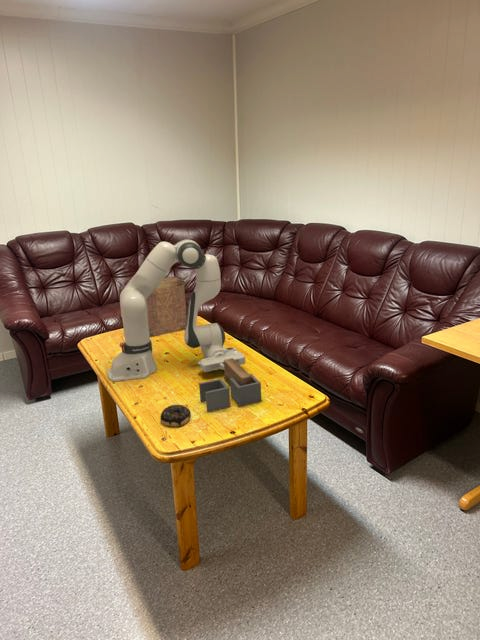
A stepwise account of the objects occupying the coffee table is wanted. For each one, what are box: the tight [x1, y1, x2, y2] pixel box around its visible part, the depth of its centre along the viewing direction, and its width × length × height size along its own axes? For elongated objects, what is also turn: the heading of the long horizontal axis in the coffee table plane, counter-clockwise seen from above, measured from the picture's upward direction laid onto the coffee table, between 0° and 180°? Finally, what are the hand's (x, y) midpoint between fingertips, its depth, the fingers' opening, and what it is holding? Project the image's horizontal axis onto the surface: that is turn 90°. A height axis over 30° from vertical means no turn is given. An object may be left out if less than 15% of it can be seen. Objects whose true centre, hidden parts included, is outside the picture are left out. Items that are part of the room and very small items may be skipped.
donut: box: [160, 404, 192, 428], centre depth 168 cm, size 11×12×4 cm
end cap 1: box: [198, 378, 231, 413], centre depth 177 cm, size 9×9×8 cm
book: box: [146, 275, 188, 338], centre depth 257 cm, size 25×9×30 cm, turn 120°
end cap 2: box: [229, 373, 262, 407], centre depth 179 cm, size 9×9×8 cm
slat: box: [224, 358, 251, 387], centre depth 187 cm, size 4×20×10 cm, turn 22°
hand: (228, 368), depth 196 cm, fingers closed
